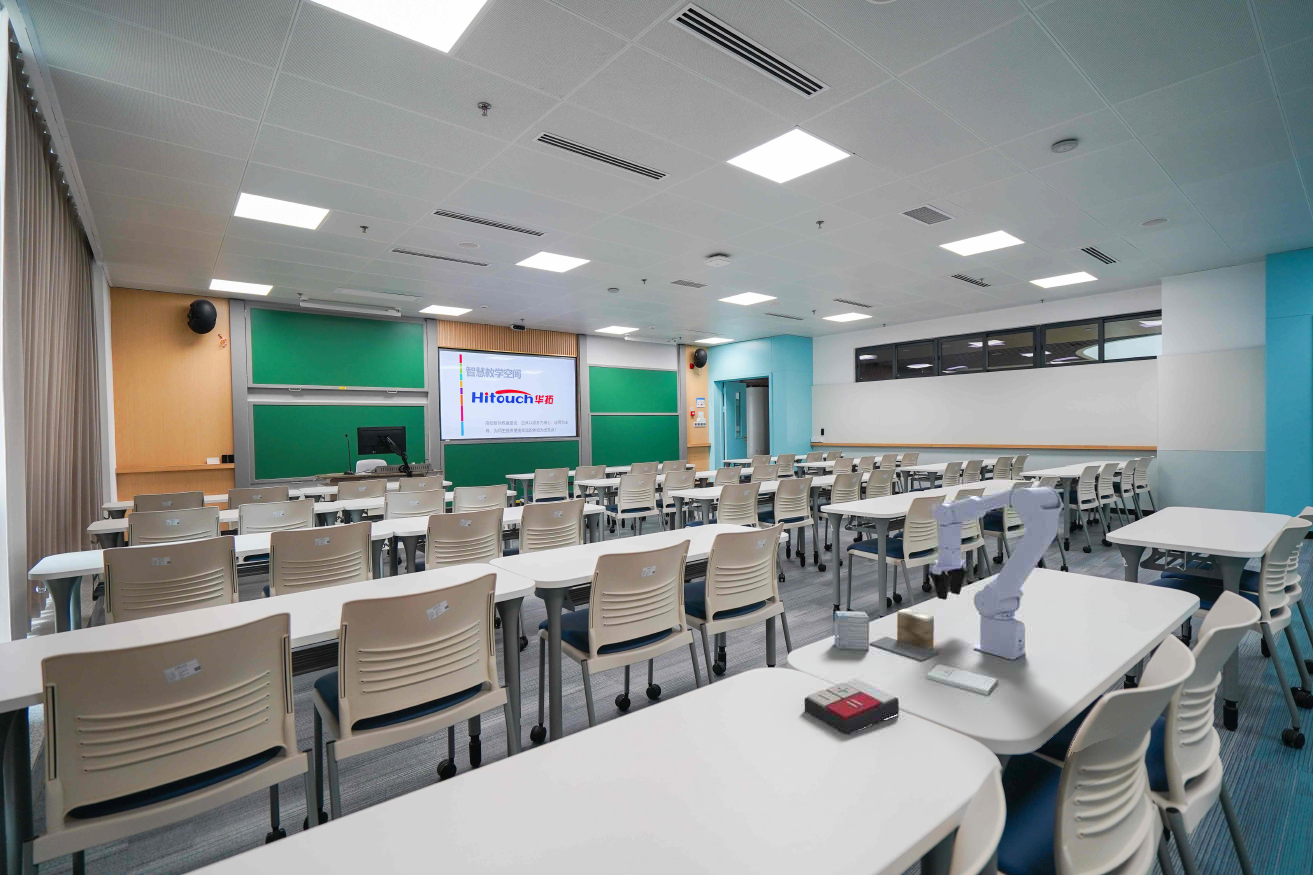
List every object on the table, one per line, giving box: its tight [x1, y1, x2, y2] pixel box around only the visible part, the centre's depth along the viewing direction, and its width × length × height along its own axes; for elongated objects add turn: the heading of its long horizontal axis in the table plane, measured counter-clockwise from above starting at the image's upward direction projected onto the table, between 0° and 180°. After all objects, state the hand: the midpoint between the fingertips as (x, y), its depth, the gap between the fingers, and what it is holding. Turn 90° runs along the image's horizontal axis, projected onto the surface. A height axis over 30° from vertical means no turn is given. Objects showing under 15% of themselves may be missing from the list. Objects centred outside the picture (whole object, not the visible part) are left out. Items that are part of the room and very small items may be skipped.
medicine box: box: [834, 610, 870, 651], centre depth 153 cm, size 8×4×9 cm, turn 84°
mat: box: [869, 636, 939, 662], centre depth 152 cm, size 14×8×1 cm, turn 38°
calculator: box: [804, 678, 900, 735], centre depth 118 cm, size 11×4×15 cm
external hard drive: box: [926, 664, 999, 696], centre depth 133 cm, size 2×8×12 cm
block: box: [896, 608, 935, 650], centre depth 156 cm, size 8×4×8 cm, turn 38°
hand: (948, 596), depth 165 cm, fingers open, 7 cm apart
